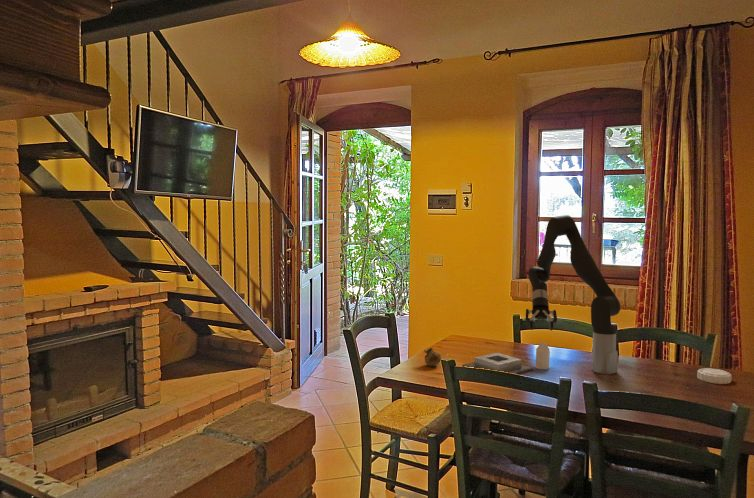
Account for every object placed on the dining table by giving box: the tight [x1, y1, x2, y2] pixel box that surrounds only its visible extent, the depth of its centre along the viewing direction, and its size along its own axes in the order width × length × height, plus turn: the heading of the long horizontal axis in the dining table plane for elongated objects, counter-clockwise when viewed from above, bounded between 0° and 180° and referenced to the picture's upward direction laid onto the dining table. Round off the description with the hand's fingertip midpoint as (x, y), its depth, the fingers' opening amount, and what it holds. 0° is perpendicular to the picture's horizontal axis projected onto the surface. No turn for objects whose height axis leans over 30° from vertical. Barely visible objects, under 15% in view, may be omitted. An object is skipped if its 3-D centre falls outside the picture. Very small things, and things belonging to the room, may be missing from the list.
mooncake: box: [696, 367, 732, 385], centre depth 223 cm, size 12×12×4 cm
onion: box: [423, 347, 442, 367], centre depth 244 cm, size 8×8×8 cm
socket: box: [461, 352, 535, 375], centre depth 240 cm, size 22×22×4 cm
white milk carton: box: [535, 341, 551, 370], centre depth 240 cm, size 6×12×6 cm
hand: (541, 329), depth 250 cm, fingers open, 8 cm apart
